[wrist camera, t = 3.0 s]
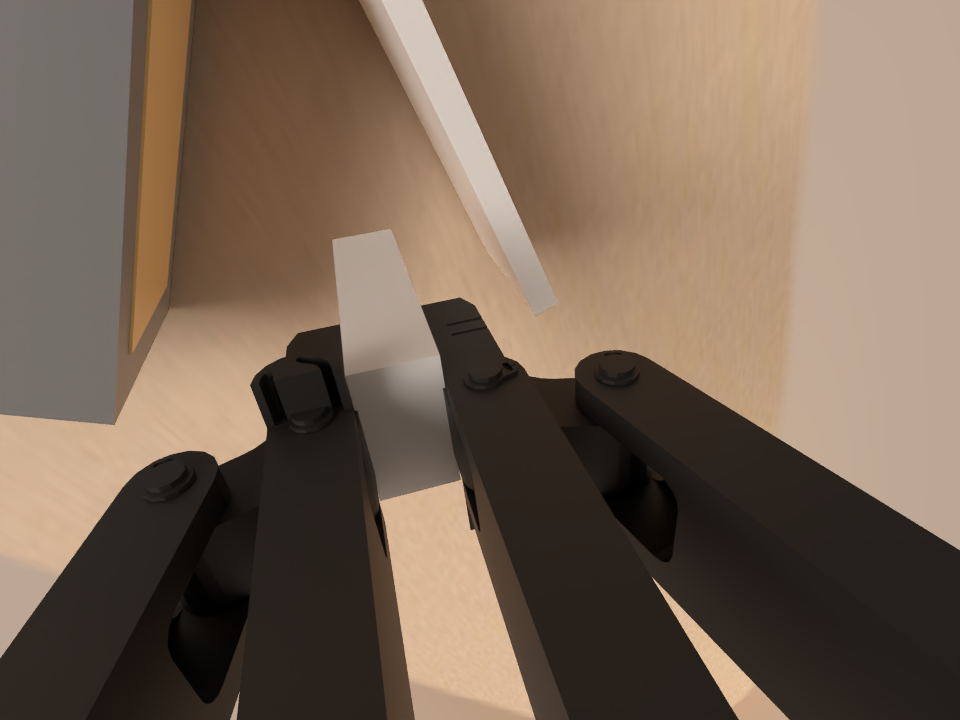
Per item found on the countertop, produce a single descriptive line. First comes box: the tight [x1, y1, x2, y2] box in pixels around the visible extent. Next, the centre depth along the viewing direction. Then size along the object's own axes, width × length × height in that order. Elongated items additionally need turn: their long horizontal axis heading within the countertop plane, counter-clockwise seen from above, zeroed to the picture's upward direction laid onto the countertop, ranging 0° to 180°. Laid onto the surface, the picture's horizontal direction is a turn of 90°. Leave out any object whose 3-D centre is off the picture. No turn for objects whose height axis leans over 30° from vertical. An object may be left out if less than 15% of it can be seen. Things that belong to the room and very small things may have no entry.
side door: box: [359, 0, 558, 316], centre depth 15 cm, size 15×1×6 cm, turn 26°
